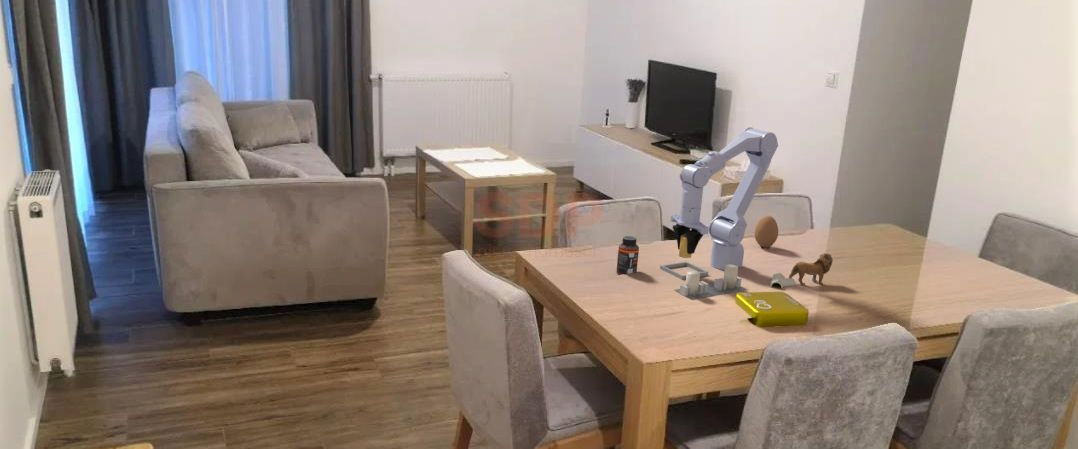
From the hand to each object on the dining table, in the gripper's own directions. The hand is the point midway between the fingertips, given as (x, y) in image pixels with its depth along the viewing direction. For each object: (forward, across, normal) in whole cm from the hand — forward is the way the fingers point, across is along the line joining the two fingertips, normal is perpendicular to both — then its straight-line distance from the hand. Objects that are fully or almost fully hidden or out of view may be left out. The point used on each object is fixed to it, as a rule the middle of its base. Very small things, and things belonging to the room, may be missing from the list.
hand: (686, 251), depth 251 cm
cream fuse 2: (+6, +15, +4) cm, 17 cm away
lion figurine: (+8, +18, +33) cm, 38 cm away
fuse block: (+8, +15, -3) cm, 17 cm away
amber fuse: (+2, 0, 0) cm, 2 cm away
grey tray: (+8, 0, 0) cm, 8 cm away
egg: (+8, -13, +46) cm, 49 cm away
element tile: (+9, +33, +2) cm, 34 cm away
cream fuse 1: (+6, +15, -10) cm, 19 cm away
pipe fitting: (+8, +20, +20) cm, 30 cm away
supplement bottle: (+8, -8, -15) cm, 19 cm away
